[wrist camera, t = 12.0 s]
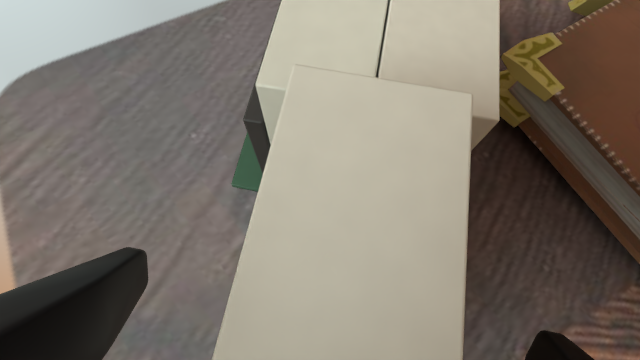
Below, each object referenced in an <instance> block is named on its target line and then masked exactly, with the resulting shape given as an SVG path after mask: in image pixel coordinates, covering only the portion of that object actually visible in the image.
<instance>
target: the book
mask: <svg viewBox="0 0 640 360" xmlns="http://www.w3.org/2000/svg"><path fill="white" fill-rule="evenodd" d="M568 5H569V7H570V10H571V11H572V12H575V13H578V14H581V15H583V16H586V17H584V18H583V19H581V20H579V21H577V22H575V23H574V24H572V25H570V26H568V27H567V28H565V29H563V30H561V31H560V32H558V33H556V34H553V33H552V32H551V33H548V34H544V35H540V36H537V37H533V38H530V39H526V40H523V41H521V42H520V43H518V44H517V45H515V46H514V47H513V48H511V49H510V50H508V51H507V52H505V53H504V54H502V56H501V59H502V60H503V62H504V64H505V66H506V67H507V70H504V71H501V72H499V116H500V117H502V118H503V119H504V120H505V121H507V122H508V123H509V124H510V125H512V126H513V127H516V126H517V125H518V126H519V127H520V128H521V129H522V130H523V132H524V133H525V134H526V135H527V136H528V137H529V138H530V140H531V141H532V142H533V143H534V144H535V145H536V146H537V148H538V149H539V150H540V151H541V152H542V153H543V154H544V156H545V157H546V158H547V159H548V160H549V161H550V162H551V164H552V165H553V166H554V167H555V168H556V169H557V170H558V172H559V173H560V174H561V175H562V176H563V177H564V178H565V180H566V181H567V182H568V183H569V184H570V185H571V186H572V188H573V189H574V190H575V191H576V192H577V193H578V194H579V196H580V197H581V198H582V199H583V200H584V201H585V202H586V204H587V205H588V206H589V207H590V208H591V209H592V210H593V212H594V213H595V214H596V215H597V216H598V217H599V218H600V220H601V221H602V222H603V223H604V224H605V225H606V226H607V228H608V229H609V230H610V231H611V232H612V233H613V234H614V236H615V237H616V238H617V239H618V240H619V241H620V242H621V244H622V245H623V246H624V247H625V248H626V249H627V250H628V252H629V253H630V254H631V255H632V256H633V257H634V258H635V260H636V261H637V262H638V263H639V264H640V0H572V1H570V2H569V3H568Z"/></svg>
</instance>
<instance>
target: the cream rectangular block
mask: <svg viewBox="0 0 640 360" xmlns="http://www.w3.org/2000/svg"><path fill="white" fill-rule="evenodd" d="M472 110H473V95H472V94H471V93H467V92H461V91H455V90H449V89H443V88H437V87H431V86H425V85H419V84H413V83H407V82H401V81H395V80H389V79H383V78H377V77H371V76H364V75H358V74H352V73H346V72H340V71H334V70H328V69H322V68H316V67H310V66H304V65H298V64H295V65H294V66H293V67H292V70H291V74H290V77H289V81H288V85H287V88H286V92H285V96H284V99H283V103H282V106H281V110H280V114H279V117H278V121H277V125H276V128H275V132H274V136H273V139H272V143H271V146H270V150H269V154H268V157H267V161H266V165H265V168H264V172H263V175H262V179H261V183H260V186H259V190H258V194H257V197H256V201H255V205H254V208H253V212H252V215H251V219H250V223H249V226H248V230H247V234H246V237H245V241H244V245H243V248H242V252H241V255H240V259H239V263H238V266H237V270H236V274H235V277H234V281H233V285H232V288H231V292H230V295H229V299H228V303H227V306H226V310H225V314H224V317H223V321H222V324H221V328H220V332H219V335H218V339H217V343H216V346H215V350H214V354H213V357H212V360H463V341H464V316H465V290H466V264H467V238H468V213H469V187H470V161H471V136H472Z"/></svg>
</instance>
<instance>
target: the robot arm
mask: <svg viewBox="0 0 640 360" xmlns="http://www.w3.org/2000/svg"><path fill="white" fill-rule="evenodd" d="M147 283H148V267H147V255H146V252H145V251H144V250H141V249H136V248H131V247H126V248H123V249H120V250H118V251H115V252H112V253H110V254H107V255H104V256H102V257H99V258H96V259H93V260H91V261H88V262H85V263H83V264H80V265H77V266H75V267H72V268H69V269H67V270H64V271H61V272H58V273H56V274H53V275H50V276H48V277H45V278H42V279H40V280H37V281H34V282H32V283H29V284H26V285H23V286H21V287H18V288H15V289H13V290H10V291H8V292H5V293H2V294H0V360H102V359H103V357H104V356H105V355H106V353H107V352H108V350H109V349H110V347H111V346H112V344H113V343H114V341H115V339H116V338H117V336H118V334H119V333H120V331H121V329H122V328H123V326H124V324H125V322H126V321H127V319H128V317H129V316H130V314H131V312H132V311H133V309H134V307H135V305H136V304H137V302H138V300H139V299H140V297H141V295H142V294H143V292H144V290H145V288H146V286H147ZM525 360H594V359H593V358H592V357H591V356H589V355H588V354H587V353H585V352H584V351H583V350H582V349H580V348H579V347H578V346H577V345H575V344H574V343H573V342H572V341H570V340H569V339H568V338H567V337H565V336H564V335H562V334H560V333H555V332H550V331H545V330H544V331H540V332H539V333H538V334H537V335H536V337H535V339H534V341H533V343H532V345H531V347H530V349H529V351H528V353H527V354H526V357H525Z"/></svg>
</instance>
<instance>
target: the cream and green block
mask: <svg viewBox="0 0 640 360" xmlns="http://www.w3.org/2000/svg"><path fill="white" fill-rule="evenodd" d="M295 64H298V65H304V66H310V67H316V68H322V69H328V70H334V71H340V72H346V73H352V74H358V75H364V76H371V77H377V78H383V79H389V80H395V81H401V82H407V83H413V84H419V85H425V86H431V87H437V88H443V89H449V90H455V91H461V92H467V93H471V94H472V95H473V110H472V136H471V151H472V150H473V149H474V147H475V146H476V145H477V144H478V143H479V142H480V141H481V140H482V139H483V138H484V137H485V136H486V135H487V134H488V132H489V131H490V130H491V129H492V128H493V127H494V126H495V125H496V124H497V123H498V122H499V72H500V0H281V1H280V4H279V8H278V11H277V14H276V17H275V20H274V23H273V27H272V30H271V33H270V36H269V39H268V43H267V46H266V49H265V52H264V55H263V58H262V62H261V65H260V68H259V71H258V74H257V77H256V81H255V84H254V87H253V90H252V93H251V96H250V100H249V103H248V106H247V109H246V112H245V116H244V119H243V121H244V124H245V126H246V129H247V135H246V138H245V141H244V145H243V148H242V151H241V155H240V158H239V161H238V164H237V168H236V171H235V174H234V177H233V181H232V186H233V187H237V188H242V189H247V190H253V191H258V190H259V186H260V183H261V179H262V175H263V172H264V168H265V165H266V161H267V157H268V154H269V150H270V146H271V143H272V139H273V136H274V132H275V128H276V125H277V121H278V117H279V114H280V110H281V106H282V103H283V99H284V96H285V92H286V88H287V85H288V81H289V77H290V74H291V70H292V67H293V66H294V65H295Z"/></svg>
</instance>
